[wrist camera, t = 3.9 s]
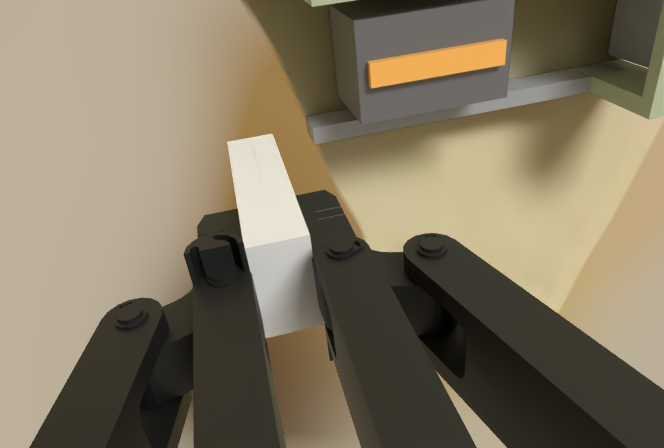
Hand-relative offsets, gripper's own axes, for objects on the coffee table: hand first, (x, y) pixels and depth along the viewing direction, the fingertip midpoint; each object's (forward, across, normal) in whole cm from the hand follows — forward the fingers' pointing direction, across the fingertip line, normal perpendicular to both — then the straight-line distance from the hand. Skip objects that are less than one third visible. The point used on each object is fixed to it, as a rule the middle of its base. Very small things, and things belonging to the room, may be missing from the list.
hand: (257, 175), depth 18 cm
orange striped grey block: (+13, +10, 0) cm, 16 cm away
